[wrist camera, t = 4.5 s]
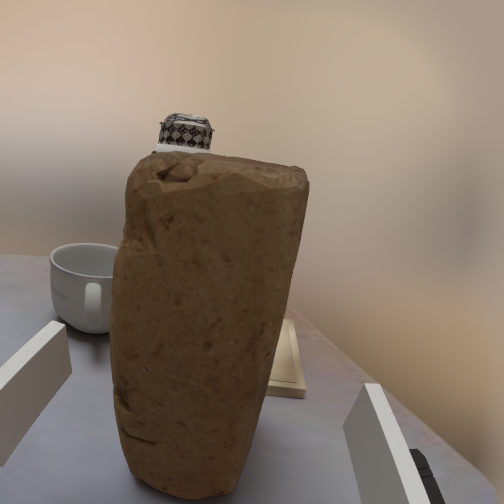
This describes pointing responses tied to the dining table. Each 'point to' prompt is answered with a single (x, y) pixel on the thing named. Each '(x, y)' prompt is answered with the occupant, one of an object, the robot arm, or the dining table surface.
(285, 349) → the beige packet
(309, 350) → the dining table surface
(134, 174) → the block
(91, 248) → the teacup
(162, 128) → the decorative candle
